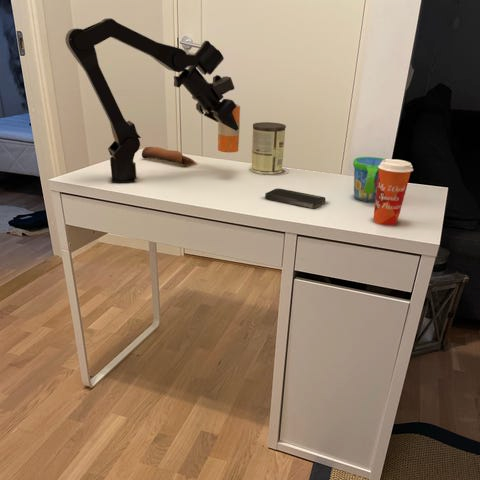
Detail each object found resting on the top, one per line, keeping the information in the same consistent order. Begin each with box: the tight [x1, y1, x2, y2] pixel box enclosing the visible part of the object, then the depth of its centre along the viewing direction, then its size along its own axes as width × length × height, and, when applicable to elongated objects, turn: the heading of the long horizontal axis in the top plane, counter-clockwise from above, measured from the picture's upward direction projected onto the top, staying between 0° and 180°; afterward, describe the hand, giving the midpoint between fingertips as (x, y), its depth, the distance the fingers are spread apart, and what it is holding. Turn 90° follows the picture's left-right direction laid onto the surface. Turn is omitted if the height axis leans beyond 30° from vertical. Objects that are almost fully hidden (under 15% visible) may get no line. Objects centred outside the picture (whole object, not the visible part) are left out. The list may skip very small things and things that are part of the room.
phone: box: [264, 188, 326, 209], centre depth 130 cm, size 8×1×15 cm
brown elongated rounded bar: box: [141, 146, 197, 168], centre depth 164 cm, size 18×7×7 cm, turn 57°
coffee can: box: [250, 121, 287, 175], centre depth 155 cm, size 10×10×14 cm
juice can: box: [217, 104, 241, 153], centre depth 148 cm, size 6×6×13 cm
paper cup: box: [372, 158, 414, 226], centre depth 114 cm, size 8×8×14 cm
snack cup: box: [352, 156, 387, 203], centre depth 132 cm, size 16×10×10 cm
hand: (232, 127), depth 148 cm, fingers closed on juice can, 6 cm apart
